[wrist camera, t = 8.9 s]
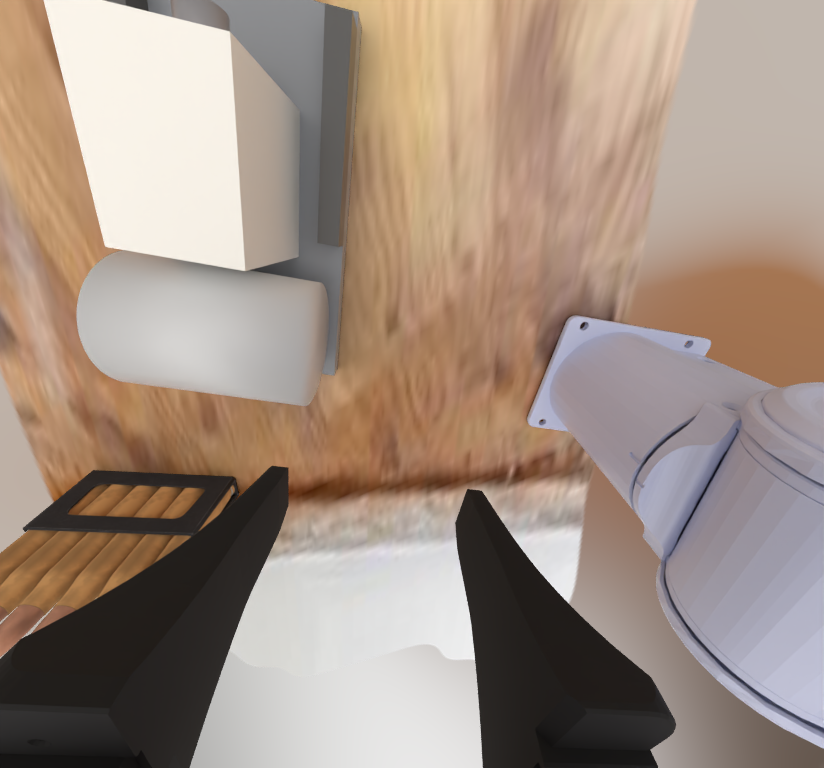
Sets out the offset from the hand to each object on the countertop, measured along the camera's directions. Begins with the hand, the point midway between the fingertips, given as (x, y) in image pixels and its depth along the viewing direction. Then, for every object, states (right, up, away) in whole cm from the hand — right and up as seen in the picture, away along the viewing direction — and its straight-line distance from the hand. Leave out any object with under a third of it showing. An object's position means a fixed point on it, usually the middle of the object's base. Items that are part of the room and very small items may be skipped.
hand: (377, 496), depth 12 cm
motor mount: (-7, +13, +4) cm, 15 cm away
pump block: (-6, +14, +2) cm, 16 cm away
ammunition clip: (-18, -3, +12) cm, 22 cm away
